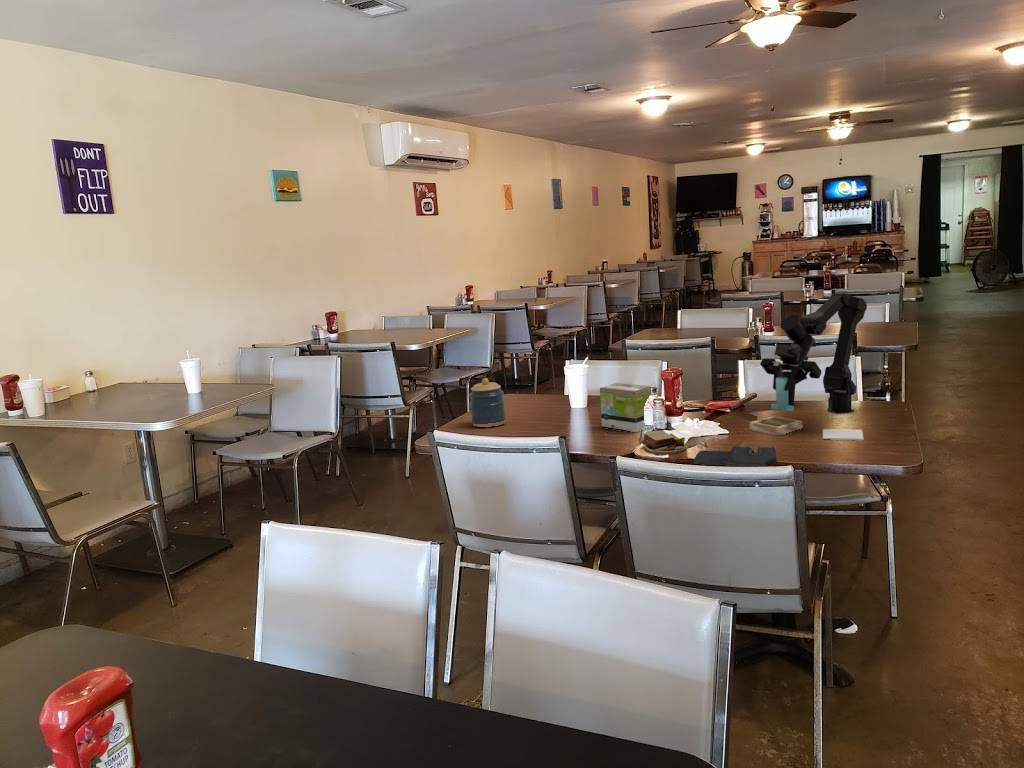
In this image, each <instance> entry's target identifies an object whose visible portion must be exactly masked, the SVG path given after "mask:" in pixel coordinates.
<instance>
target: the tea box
mask: <svg viewBox="0 0 1024 768" xmlns="http://www.w3.org/2000/svg"><path fill="white" fill-rule="evenodd" d="M599 395H600V399H599V400H600V416H601V427H602V426H606V427H612V428H618V429H624V430H630V431H638V430H640V429H642V428H644V427H645V423H644V406H645V403H646V401H647V399H648V398H649V396H650V395H652V386H651V385H644V384H642V385H641V384H632V383H624V382H623V383H622V382H614V383H612V384H609V385H605V386H602V387H599Z"/></svg>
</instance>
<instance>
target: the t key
mask: <svg viewBox="0 0 1024 768" xmlns="http://www.w3.org/2000/svg"><path fill="white" fill-rule="evenodd" d="M787 381H788V378H787V377H778V378H776V390H775V397H776V400H775V402H776V403H771V404H770V409H772V410H776V411H783V412H785V411H788V412H793V411H795V405H794V406H791V405H788V390H787V391H785V390H784V388H785V385H786V383H787Z"/></svg>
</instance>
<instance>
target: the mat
mask: <svg viewBox="0 0 1024 768" xmlns="http://www.w3.org/2000/svg"><path fill="white" fill-rule="evenodd" d="M823 439H831V440H830V441H852V440H855V441H856V442H857V441H860V442H861V441H863V442H864V441H865V440H864V439H865V438H864V434H863V429H848V428H847V429H843V428H839V429H838V428H830V429H829V428H823V429H822V440H823ZM855 441H854V442H855Z"/></svg>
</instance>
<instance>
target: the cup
mask: <svg viewBox="0 0 1024 768" xmlns="http://www.w3.org/2000/svg"><path fill="white" fill-rule="evenodd" d="M783 374H784V375H785V377H787V378H788V379H789V377H790V375H791V371H787V370H784V371H783ZM795 393H796V385H794V386H793V387H792V388H790V389H789V390H788V405H791V406H794V407H795V405H794V404H795V397H796V395H795Z"/></svg>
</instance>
